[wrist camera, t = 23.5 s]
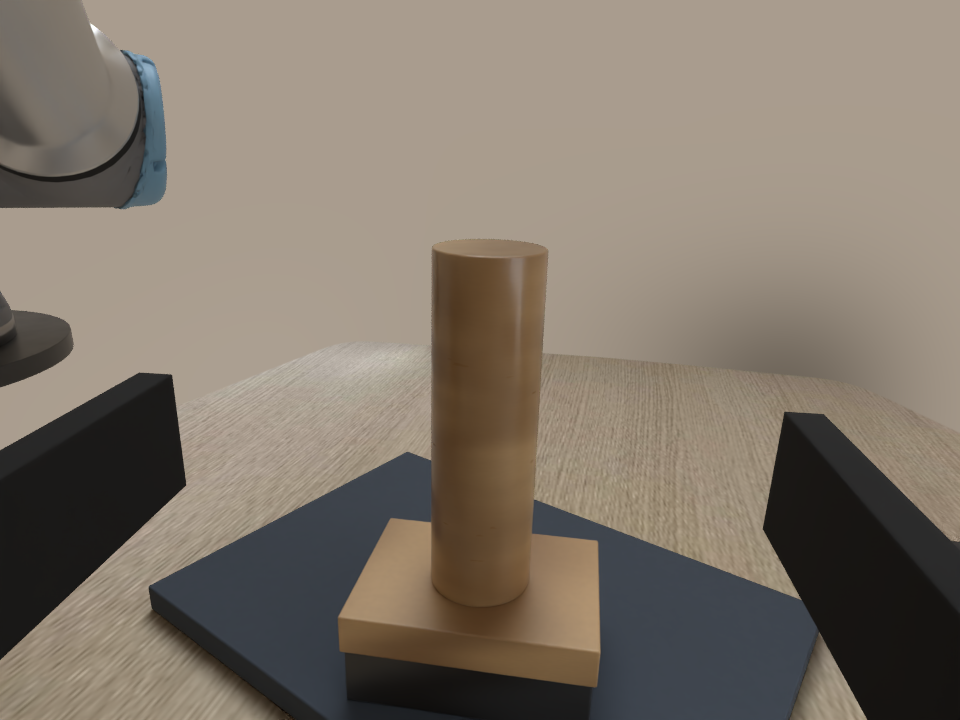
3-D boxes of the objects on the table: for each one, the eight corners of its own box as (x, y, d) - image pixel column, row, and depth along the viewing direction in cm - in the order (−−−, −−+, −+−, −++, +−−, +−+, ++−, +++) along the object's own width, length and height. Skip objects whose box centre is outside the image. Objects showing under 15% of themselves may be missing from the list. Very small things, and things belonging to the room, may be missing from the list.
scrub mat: (151, 608, 24) (147, 586, 24) (407, 468, 35) (407, 451, 35) (686, 1022, 13) (692, 990, 13) (819, 630, 24) (824, 608, 24)
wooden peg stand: (341, 702, 19) (317, 256, 15) (391, 588, 24) (384, 228, 20) (591, 740, 18) (640, 273, 14) (591, 614, 23) (627, 239, 19)
